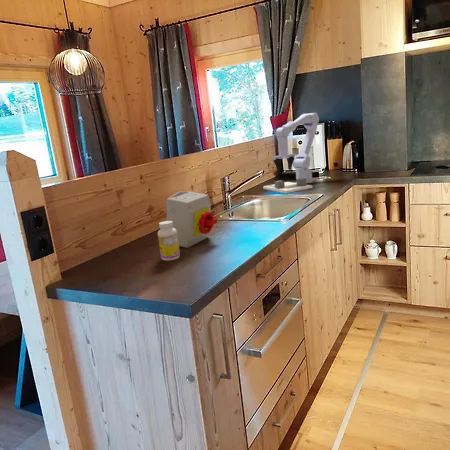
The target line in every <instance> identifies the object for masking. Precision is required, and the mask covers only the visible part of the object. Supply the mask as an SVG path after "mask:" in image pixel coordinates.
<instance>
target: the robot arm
mask: <svg viewBox="0 0 450 450" xmlns="http://www.w3.org/2000/svg"><path fill="white" fill-rule="evenodd" d="M319 121H320V117H319V114H318V113H317V112H310V113H302V114H300V116H298V117H297V118H296V119H295V120H294V121H293V120H292V121H290V120H289V121H287V123H286V124H283V125H282V126H281V127H278V128H277V129H276V130H275V133H274V134H275V137H276V139H277V145H278V146H277V147H278V155H274V156H272V161H273V163H274V165H275V167H276V169H277V172H281V171H282V167H281V165H282V164H281V163H282V159H286V161H287V168H288V170H289V171H291V170H292V167H293V168H294V170H295V179H299V178H305V179H306V184H311V183H314V181H313V173H312V169H311V168H310V165H311V157H310V156H309V154H310V152H311V149H312V145H313V142H314V139H315V135H316V133H317V129H318V124H319ZM301 124H302V125H303V126H304V128H305V129H306V133H305V136H304V139H303V142H302V145H301V148H300V151H299V153H298V154H296V153H289V143H288V142H289V139H288V137H289V136H290V134H291V133H293V132H294V131H295V130H296V128H297V127H298V126H300V125H301ZM295 154H296V155H295ZM294 183H296V181H295V182H294Z"/></svg>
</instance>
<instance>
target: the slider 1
mask: <svg viewBox="0 0 450 450" xmlns="http://www.w3.org/2000/svg"><path fill="white" fill-rule="evenodd" d="M284 182H285V180H283V179H281V180H277V181H274V184H275V188H282V187H285V184H284Z"/></svg>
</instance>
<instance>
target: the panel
mask: <svg viewBox="0 0 450 450" xmlns="http://www.w3.org/2000/svg"><path fill="white" fill-rule="evenodd" d="M284 184H285V187H282V188H275V184H268V185H263V188H262V189H264V190H267V191H273V192H277V193H278V192H279V193H283V194H289V193H294V192H300V191H305V190H309V189H313V185H312V184H311V185H310V184H307V185H302V186H300V185H297V183H295V182H292V181H284Z"/></svg>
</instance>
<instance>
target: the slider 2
mask: <svg viewBox="0 0 450 450" xmlns="http://www.w3.org/2000/svg"><path fill="white" fill-rule="evenodd" d="M295 179H296V178H295ZM295 182H296V183H297V185H300V186H302V185H308V183H306V179H305V178H299V179H296V181H295Z"/></svg>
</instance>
